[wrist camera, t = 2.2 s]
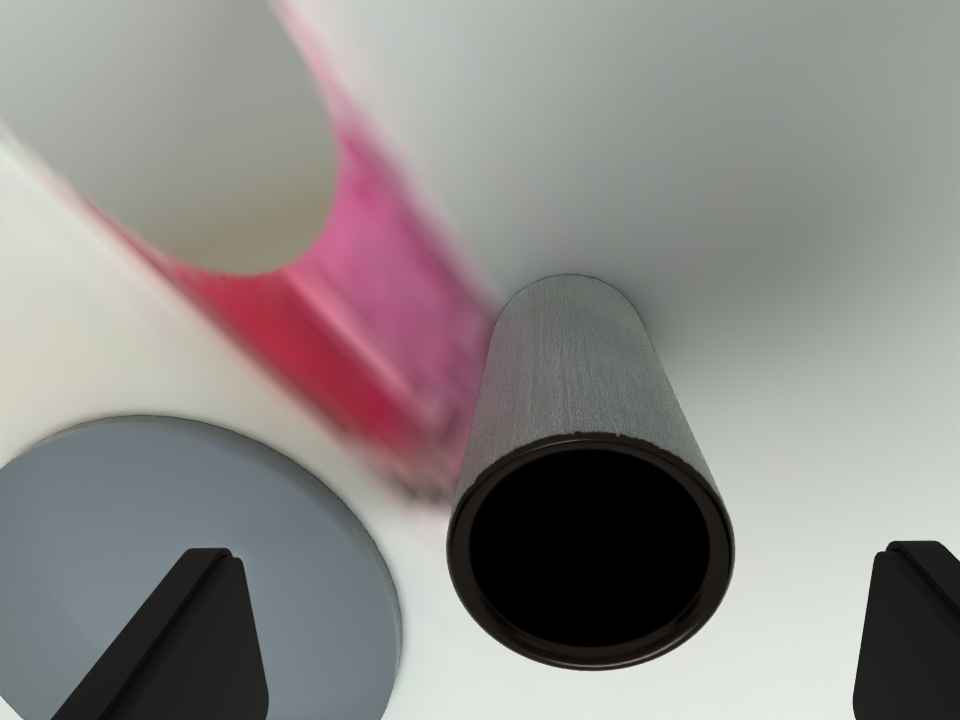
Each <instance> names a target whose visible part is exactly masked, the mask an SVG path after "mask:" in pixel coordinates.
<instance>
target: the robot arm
mask: <svg viewBox="0 0 960 720" xmlns="http://www.w3.org/2000/svg"><path fill="white" fill-rule="evenodd" d="M268 707H269V692H268V687H267V682H266V677H265V672H264V667H263V662H262V656H261V651H260V646H259V641H258V636H257V631H256V626H255V620H254V615H253V610H252V605H251V600H250V595H249V590H248V585H247V579H246V574H245V569H244V565H243V562H242V560H241V559H240V558H238V557H233V555H232V553H231V551H230V550H229V549H227V548H190V549H188V550H186V551H185V552H184V553H183V554H182V556H181V557H180V558H179V559H178V561H177V562H176V563H175V564H174V566H173V567H172V568H171V569H170V571H169V572H168V573H167V574H166V576H165V577H164V578H163V579H162V581H161V582H160V583H159V584H158V586H157V587H156V588H155V589H154V591H153V592H152V593H151V594H150V596H149V597H148V598H147V599H146V601H145V602H144V603H143V604H142V606H141V607H140V608H139V609H138V611H137V612H136V613H135V614H134V616H133V617H132V618H131V619H130V621H129V622H128V623H127V625H126V626H125V627H124V628H123V630H122V631H121V632H120V633H119V635H118V636H117V637H116V638H115V640H114V641H113V642H112V643H111V645H110V646H109V647H108V648H107V650H106V651H105V652H104V653H103V655H102V656H101V657H100V658H99V660H98V661H97V662H96V663H95V665H94V666H93V667H92V668H91V670H90V671H89V672H88V673H87V675H86V676H85V677H84V678H83V680H82V681H81V682H80V683H79V685H78V686H77V687H76V688H75V690H74V691H73V692H72V693H71V695H70V696H69V697H68V698H67V700H66V701H65V702H64V703H63V705H62V706H61V707H60V708H59V710H58V711H57V712H56V713H55V715H54V716H53V717H52V718H51V720H266V717H267V713H268ZM853 710H854V715H855V718H856V720H960V561H959V560H958V559H957V558H956V557H955V556H954V555H953V554H952V553H951V552H950V551H949V550H948V549H947V548H946V547H945V546H944V545H942V544H941V543H939V542H937V541H893V542H891V543H889V545H888V546H887V548H886V551H883V552H878V553H877V554H876V556H875V559H874V563H873V570H872V576H871V583H870V589H869V595H868V602H867V608H866V615H865V621H864V628H863V634H862V641H861V647H860V654H859V660H858V667H857V673H856V680H855V686H854V693H853Z"/></svg>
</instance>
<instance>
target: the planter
mask: <svg viewBox="0 0 960 720" xmlns="http://www.w3.org/2000/svg"><path fill="white" fill-rule="evenodd" d="M446 555H447V564H448V569H449V573H450V577H451V580H452V583H453V586H454V588H455V591H456V593H457V595H458V597H459V599H460V601H461V602H462V604H463V606H464V607H465V609H466V610H467V612H468V613H469V614H470V615H471V617H472V618H473V619H474V620H475V622H476V623H477V624H478V625H479V626H480V627H481V628H482V629H483V630H484V631H485V632H486V633H487V634H489V635H490V636H491V637H492V638H494V639H495V640H496V641H498V642H499V643H500V644H502V645H503V646H505V647H507V648H508V649H510V650H512V651H514V652H516V653H517V654H519V655H521V656H524V657H526V658H528V659H531V660H533V661H536V662H539V663H542V664H545V665H549V666H553V667H557V668H562V669H569V670H578V671H607V670H616V669H622V668H627V667H632V666H636V665H639V664H643V663H646V662H648V661H651V660H654V659H656V658H658V657H661V656H663V655H665V654H667V653H669V652H671V651H672V650H674V649H676V648H677V647H679V646H681V645H682V644H683V643H685V642H686V641H688V640H689V639H690V638H691V637H693V636H694V635H695V634H696V633H697V632H698V631H699V630H700V629H701V628H703V626H704V625H705V624H706V623H707V622H708V621H709V620H710V618H711V617H712V616H713V614H714V613H715V612H716V610H717V609H718V607H719V605H720V604H721V602H722V600H723V598H724V596H725V594H726V592H727V590H728V587H729V584H730V581H731V578H732V574H733V569H734V562H735V538H734V532H733V527H732V523H731V520H730V517H729V514H728V512H727V509H726V506H725V504H724V501H723V499H722V497H721V495H720V492H719V490H718V488H717V486H716V484H715V481H714V479H713V477H712V475H711V473H710V470H709V468H708V466H707V464H706V462H705V459H704V457H703V455H702V453H701V451H700V448H699V446H698V444H697V442H696V440H695V437H694V435H693V433H692V431H691V429H690V427H689V424H688V422H687V420H686V418H685V416H684V413H683V411H682V409H681V407H680V405H679V402H678V400H677V398H676V396H675V394H674V391H673V389H672V387H671V385H670V383H669V380H668V378H667V376H666V374H665V372H664V370H663V367H662V365H661V363H660V361H659V359H658V356H657V354H656V352H655V350H654V348H653V345H652V343H651V341H650V339H649V337H648V334H647V332H646V330H645V328H644V326H643V323H642V321H641V319H640V317H639V316H638V314H637V313H636V311H635V310H634V308H633V307H632V305H631V304H630V303H629V302H628V300H627V299H626V298H625V297H624V296H623V295H622V294H621V293H619V292H618V291H617V290H616V289H614V288H613V287H611V286H610V285H608V284H606V283H604V282H602V281H600V280H597V279H594V278H591V277H587V276H582V275H557V276H551V277H548V278H544V279H541V280H539V281H536V282H534V283H532V284H530V285H529V286H527V287H525V288H524V289H522V290H521V291H520V292H519V293H517V294H516V295H515V296H514V297H513V298H512V299H511V300H510V301H509V303H508V304H507V305H506V306H505V308H504V309H503V311H502V312H501V314H500V316H499V318H498V320H497V323H496V325H495V328H494V330H493V334H492V337H491V342H490V346H489V350H488V355H487V359H486V363H485V368H484V372H483V377H482V381H481V385H480V390H479V394H478V398H477V403H476V407H475V411H474V416H473V420H472V425H471V429H470V433H469V438H468V442H467V446H466V451H465V455H464V459H463V464H462V468H461V473H460V477H459V481H458V486H457V490H456V494H455V499H454V503H453V508H452V512H451V517H450V521H449V526H448V532H447V540H446Z"/></svg>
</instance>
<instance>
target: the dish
mask: <svg viewBox="0 0 960 720" xmlns="http://www.w3.org/2000/svg"><path fill="white" fill-rule="evenodd" d="M190 548H227V549H229V550H230V551H231V553H232V555H233V557H238V558H240V559H241V560H242V562H243V565H244V569H245V574H246V579H247V585H248V590H249V595H250V600H251V605H252V610H253V615H254V620H255V626H256V631H257V636H258V641H259V646H260V651H261V656H262V662H263V667H264V672H265V677H266V682H267V687H268V692H269V707H268V713H267V717H266V720H381V718H382V716H383V714H384V712H385V710H386V707H387V704H388V701H389V697H390V694H391V691H392V688H393V684H394V680H395V676H396V672H397V668H398V665H399V659H400V651H401V643H402V629H401V614H400V609H399V604H398V599H397V594H396V590H395V588H394V585H393V582H392V579H391V576H390V573H389V571H388V568H387V566H386V564H385V562H384V560H383V558H382V556H381V554H380V553H379V551H378V549H377V547H376V545H375V543H374V542H373V540H372V539H371V537H370V536H369V535H368V533H367V532H366V530H365V529H364V527H363V526H362V524H361V523H360V522H359V520H358V519H357V518H356V517H355V516H354V515H353V514H352V512H351V511H350V510H349V509H348V508H347V507H346V506H345V505H344V503H343V502H342V501H341V500H340V499H339V498H338V497H337V496H336V495H335V494H334V493H332V492H331V491H330V490H329V489H328V488H327V487H326V486H324V485H323V484H322V483H321V482H320V481H319V480H318V479H317V478H315V477H314V476H313V475H311V474H310V473H308V472H307V471H306V470H304V469H303V468H301V467H300V466H298V465H297V464H296V463H294V462H293V461H291V460H290V459H288V458H286V457H285V456H283V455H281V454H279V453H277V452H275V451H274V450H272V449H270V448H268V447H266V446H265V445H263V444H261V443H259V442H256V441H254V440H251V439H249V438H246V437H244V436H242V435H239V434H237V433H234V432H232V431H229V430H226V429H222V428H219V427H215V426H212V425H208V424H205V423H201V422H196V421H190V420H184V419H179V418H173V417H161V416H140V415H137V416H124V417H112V418H105V419H101V420H96V421H91V422H87V423H82V424H79V425H77V426H74V427H71V428H69V429H66V430H63V431H61V432H58V433H56V434H54V435H52V436H50V437H49V438H47V439H45V440H43V441H42V442H40V443H38V444H36V445H35V446H33V447H32V448H30V449H29V450H27V451H26V452H24V453H23V454H21V455H20V456H18V457H16V458H15V459H13V460H12V461H10V462H9V463H8V464H6V465H5V466H4V467H3V468H2V469H0V695H1V697H2V698H3V699H4V700H5V701H6V702H7V703H8V704H9V705H10V706H11V707H12V708H13V709H14V710H15V712H16V713H17V714H18V715H19V716H20V717H21V718H22V719H24V720H51V718H52V717H53V716H54V715H55V713H56V712H57V711H58V710H59V708H60V707H61V706H62V705H63V703H64V702H65V701H66V700H67V698H68V697H69V696H70V695H71V693H72V692H73V691H74V690H75V688H76V687H77V686H78V685H79V683H80V682H81V681H82V680H83V678H84V677H85V676H86V675H87V673H88V672H89V671H90V670H91V668H92V667H93V666H94V665H95V663H96V662H97V661H98V660H99V658H100V657H101V656H102V655H103V653H104V652H105V651H106V650H107V648H108V647H109V646H110V645H111V643H112V642H113V641H114V640H115V638H116V637H117V636H118V635H119V633H120V632H121V631H122V630H123V628H124V627H125V626H126V625H127V623H128V622H129V621H130V619H131V618H132V617H133V616H134V614H135V613H136V612H137V611H138V609H139V608H140V607H141V606H142V604H143V603H144V602H145V601H146V599H147V598H148V597H149V596H150V594H151V593H152V592H153V591H154V589H155V588H156V587H157V586H158V584H159V583H160V582H161V581H162V579H163V578H164V577H165V576H166V574H167V573H168V572H169V571H170V569H171V568H172V567H173V566H174V564H175V563H176V562H177V561H178V559H179V558H180V557H181V556H182V554H183V553H184V552H185V551H186V550H188V549H190Z"/></svg>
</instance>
